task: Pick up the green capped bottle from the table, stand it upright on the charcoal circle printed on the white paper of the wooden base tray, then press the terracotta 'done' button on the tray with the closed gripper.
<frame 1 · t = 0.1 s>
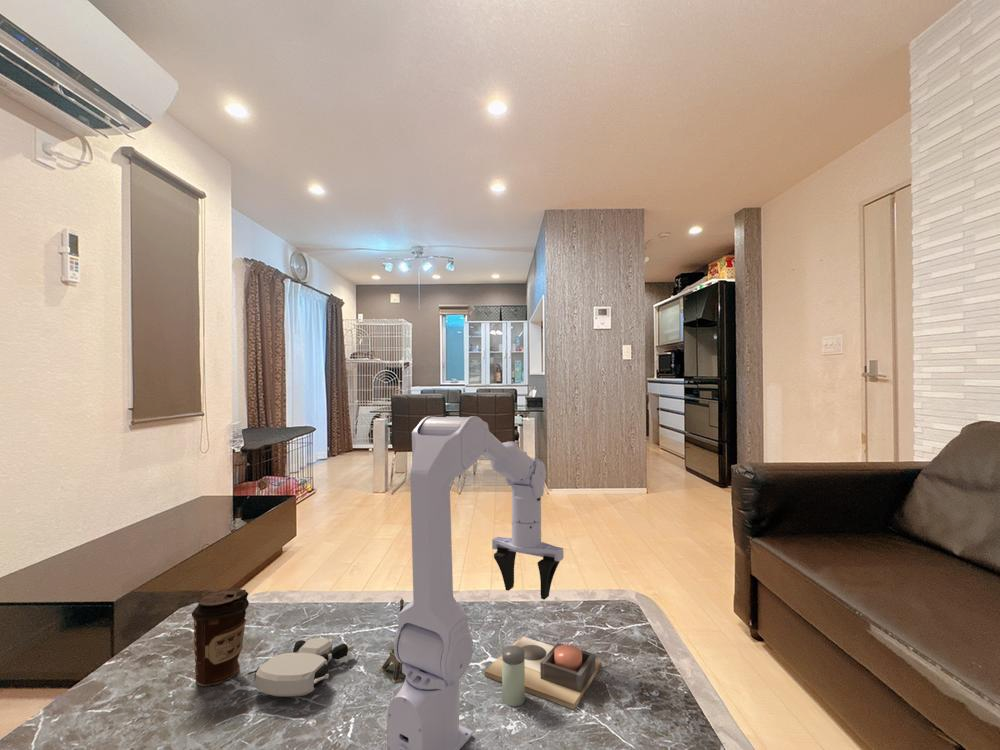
hand: (526, 592, 82), 10 cm above the table, tool pointing down, fingers open, 7 cm apart
eiffel tower figurine: (402, 675, 74), on the table
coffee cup: (218, 676, 73), on the table
wooden base tray: (544, 670, 74), on the table
robot toy: (303, 680, 72), on the table
done button: (568, 658, 72), point 3 cm above the table, slide at 0.0 cm
green capped bottle: (513, 698, 67), on the table
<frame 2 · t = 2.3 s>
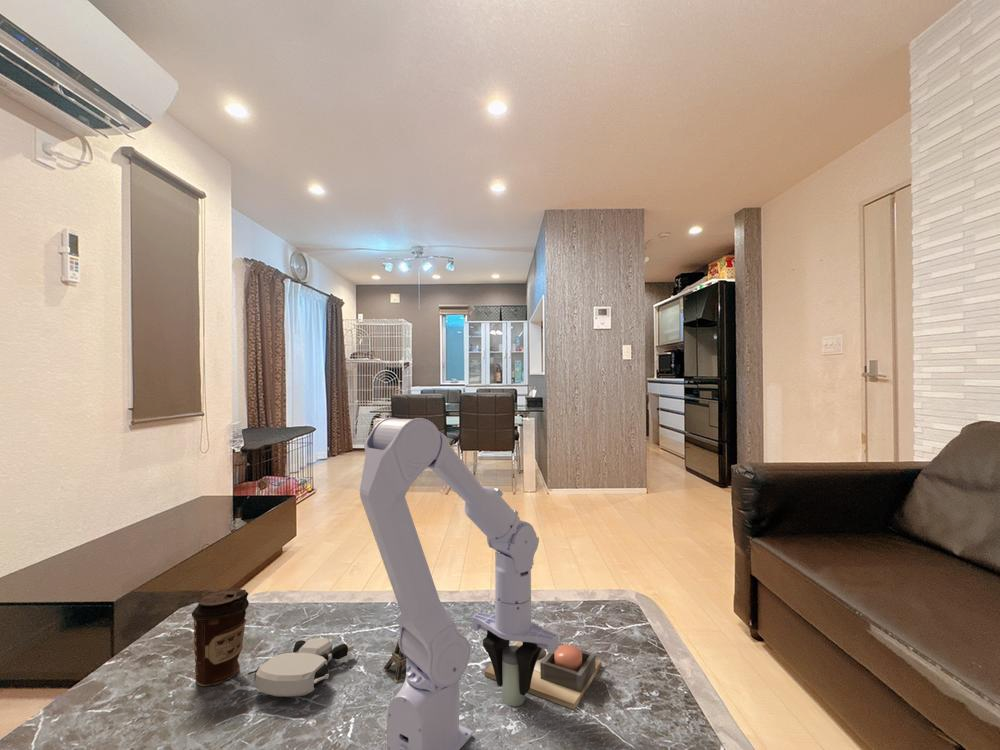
hand: (513, 687, 67), 2 cm above the table, tool pointing down, fingers closed on green capped bottle, 3 cm apart
green capped bottle: (513, 698, 67), on the table, touching gripper
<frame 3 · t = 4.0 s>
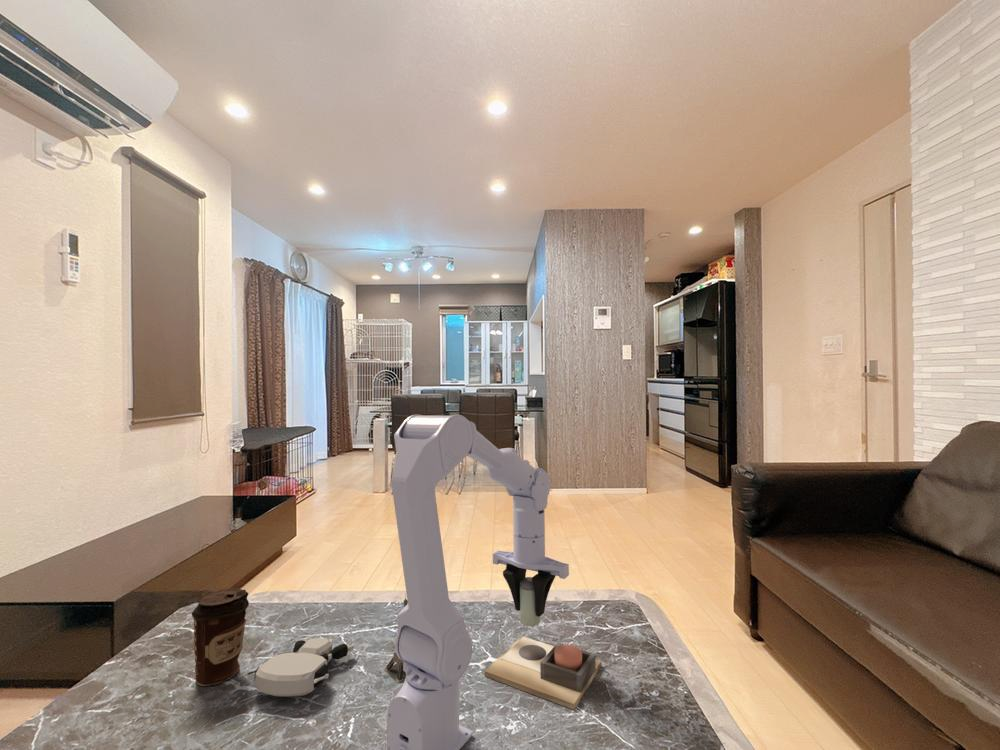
hand: (529, 611, 77), 9 cm above the table, tool pointing down, fingers closed on green capped bottle, 3 cm apart
green capped bottle: (530, 621, 77), point 7 cm above the table, touching gripper
when the fingers open (4 cm above the table, at t = 5.8 s): green capped bottle stays where it is, resting on wooden base tray.
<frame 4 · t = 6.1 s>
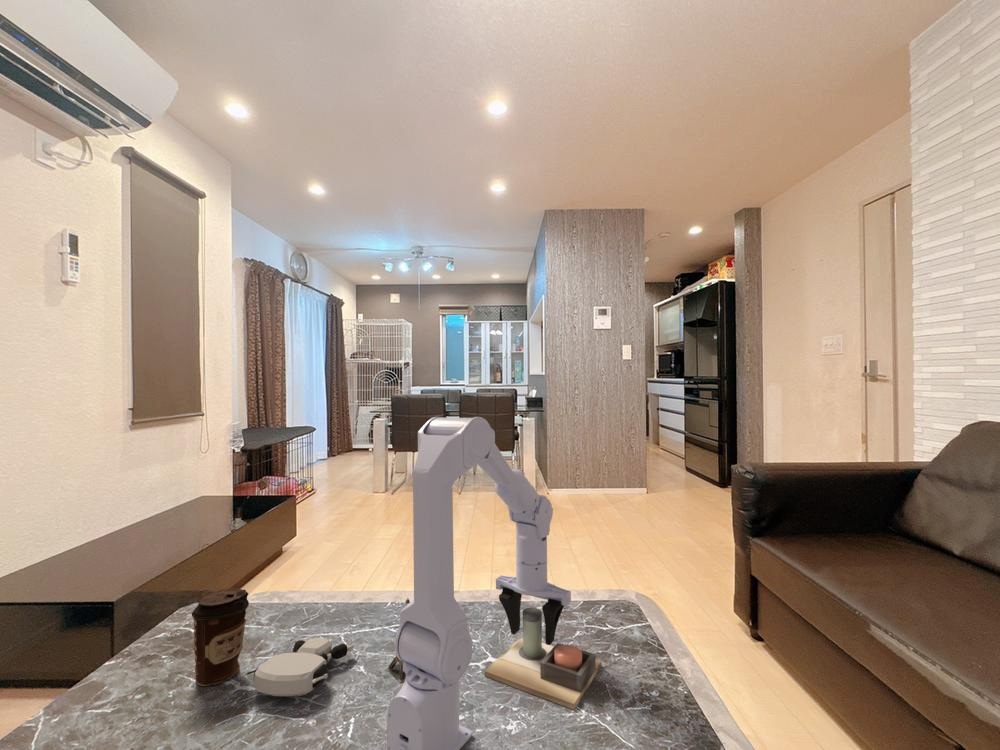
hand: (532, 636, 78), 4 cm above the table, tool pointing down, fingers open, 6 cm apart
green capped bottle: (532, 652, 78), point 1 cm above the table, touching wooden base tray
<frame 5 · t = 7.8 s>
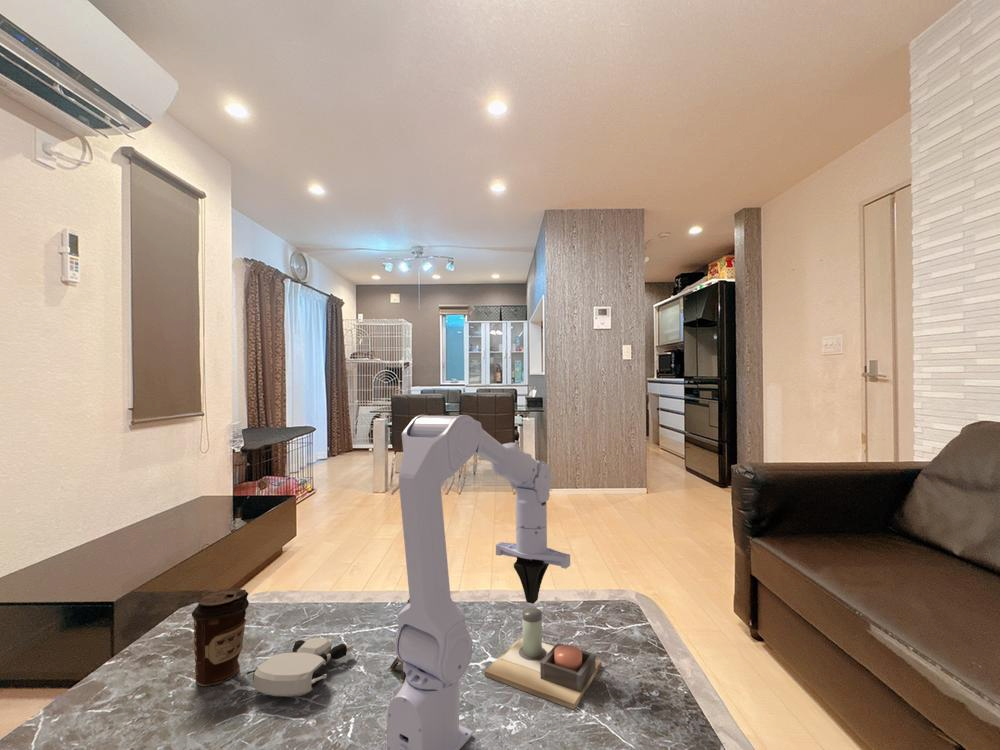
hand: (532, 601, 79), 10 cm above the table, tool pointing down, fingers closed
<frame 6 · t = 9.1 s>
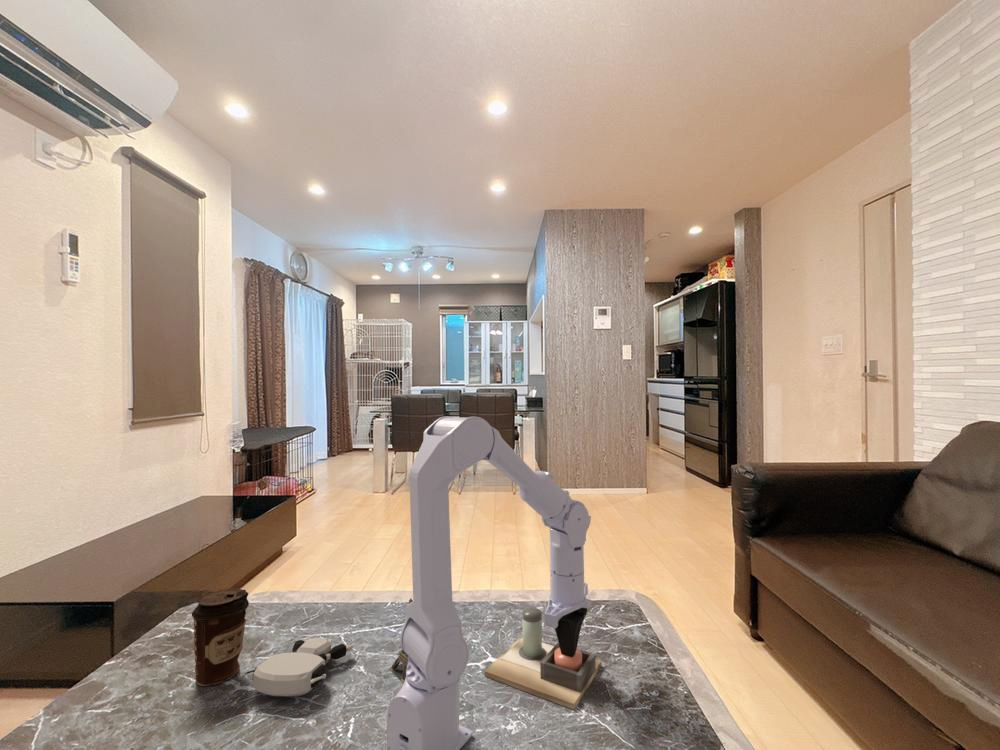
hand: (568, 654, 72), 4 cm above the table, tool pointing down, fingers closed, pressing on done button
done button: (568, 660, 72), point 3 cm above the table, slide at 0.3 cm, touching gripper
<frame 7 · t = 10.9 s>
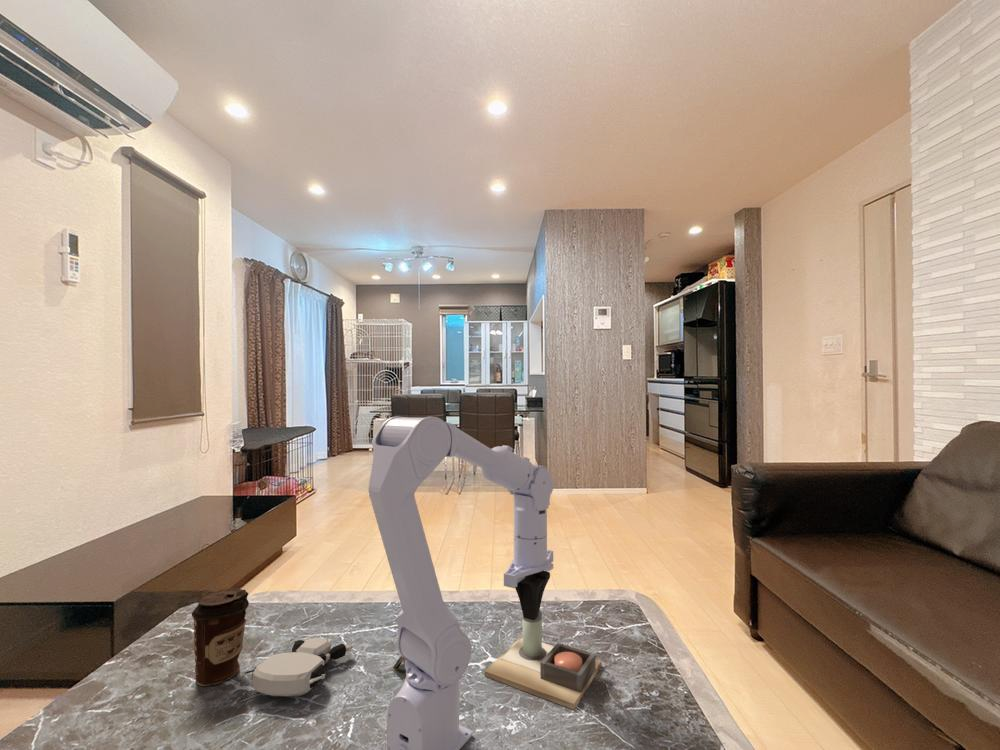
hand: (530, 617, 72), 10 cm above the table, tool pointing down, fingers closed
done button: (568, 665, 72), point 2 cm above the table, slide at 1.2 cm
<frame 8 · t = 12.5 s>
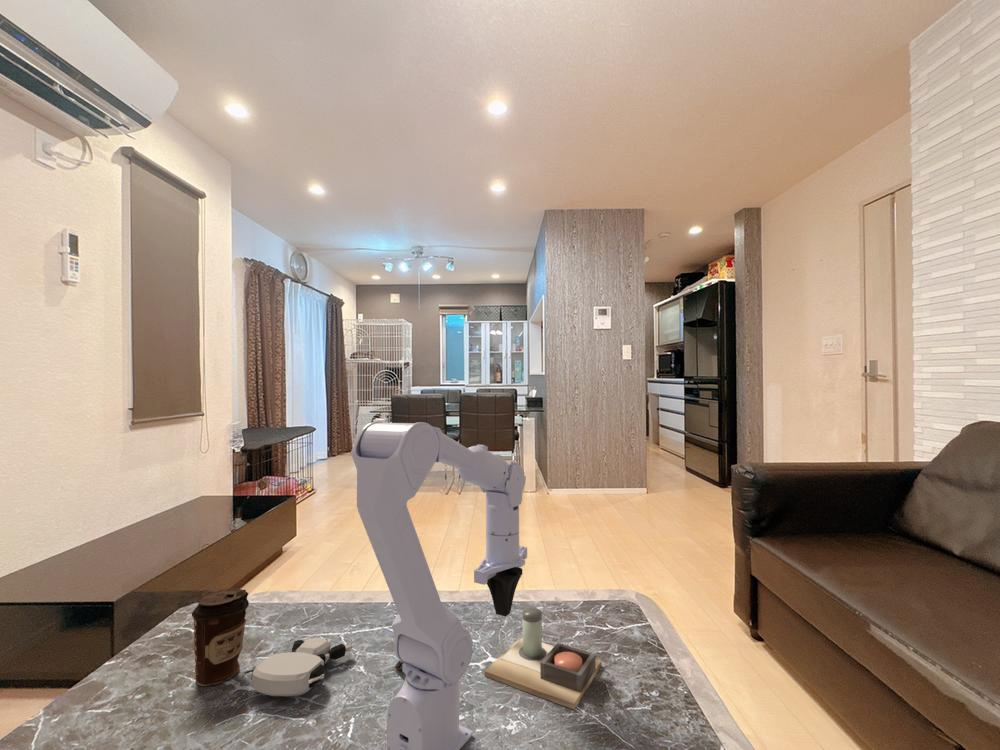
hand: (502, 613, 73), 10 cm above the table, tool pointing down, fingers closed
at the end: green capped bottle 0.0 cm from the target spot on the wooden base tray, point 0.9 cm above the wooden base tray's base; green capped bottle tilted 0°; done button slide at 1.2 cm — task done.
